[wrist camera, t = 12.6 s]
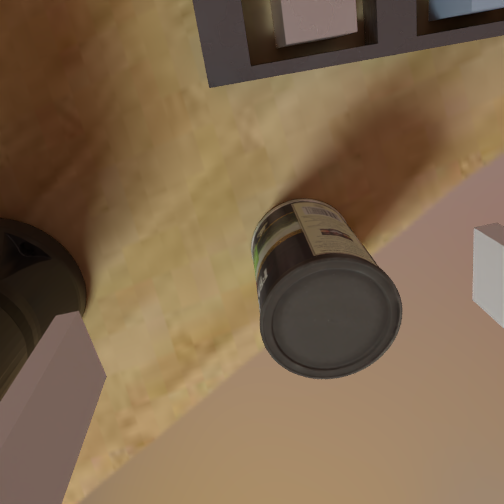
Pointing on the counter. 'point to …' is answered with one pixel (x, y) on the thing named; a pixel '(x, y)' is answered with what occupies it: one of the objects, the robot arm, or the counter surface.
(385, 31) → the dark grey compartment tray
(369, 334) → the coffee can
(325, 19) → the pale wooden cube
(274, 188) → the counter surface
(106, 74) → the counter surface
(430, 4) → the blue-grey rectangular block
